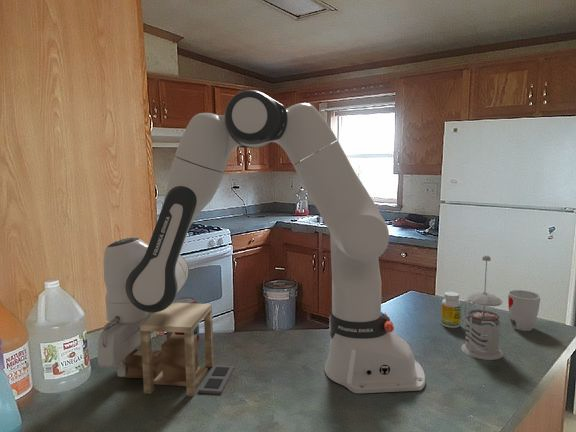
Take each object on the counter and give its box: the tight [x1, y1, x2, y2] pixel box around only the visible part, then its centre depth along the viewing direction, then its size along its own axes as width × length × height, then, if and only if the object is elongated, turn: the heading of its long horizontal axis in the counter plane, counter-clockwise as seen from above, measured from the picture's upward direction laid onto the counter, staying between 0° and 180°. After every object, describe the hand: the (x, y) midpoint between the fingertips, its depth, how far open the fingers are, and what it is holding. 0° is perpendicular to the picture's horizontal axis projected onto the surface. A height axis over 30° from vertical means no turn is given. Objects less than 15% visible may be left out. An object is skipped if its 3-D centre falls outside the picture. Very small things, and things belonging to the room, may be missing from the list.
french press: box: [460, 255, 504, 361], centre depth 106 cm, size 10×12×25 cm
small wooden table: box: [140, 302, 215, 397], centre depth 94 cm, size 11×14×15 cm
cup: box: [507, 289, 541, 332], centre depth 120 cm, size 8×8×10 cm
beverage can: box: [174, 296, 200, 343], centre depth 112 cm, size 7×7×12 cm
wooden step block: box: [123, 334, 208, 388], centre depth 95 cm, size 19×7×9 cm, turn 83°
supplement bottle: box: [440, 291, 462, 329], centre depth 123 cm, size 5×5×10 cm
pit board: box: [198, 364, 235, 395], centre depth 94 cm, size 5×11×1 cm, turn 173°
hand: (131, 366), depth 96 cm, fingers open, 6 cm apart
